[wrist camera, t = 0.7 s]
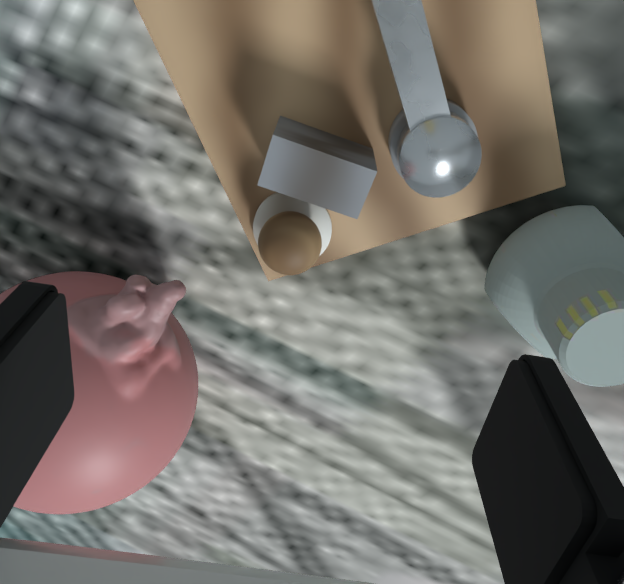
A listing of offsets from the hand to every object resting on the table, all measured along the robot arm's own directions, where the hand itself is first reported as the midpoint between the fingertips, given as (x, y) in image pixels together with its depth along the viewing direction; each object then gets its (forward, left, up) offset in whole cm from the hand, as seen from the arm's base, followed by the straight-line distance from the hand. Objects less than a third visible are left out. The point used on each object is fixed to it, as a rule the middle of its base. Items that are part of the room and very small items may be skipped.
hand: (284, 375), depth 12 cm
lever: (-6, -2, -23) cm, 23 cm away
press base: (-3, 0, -26) cm, 26 cm away
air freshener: (-12, +16, -26) cm, 33 cm away
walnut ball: (+4, +6, -24) cm, 25 cm away
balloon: (+18, +9, -26) cm, 33 cm away
